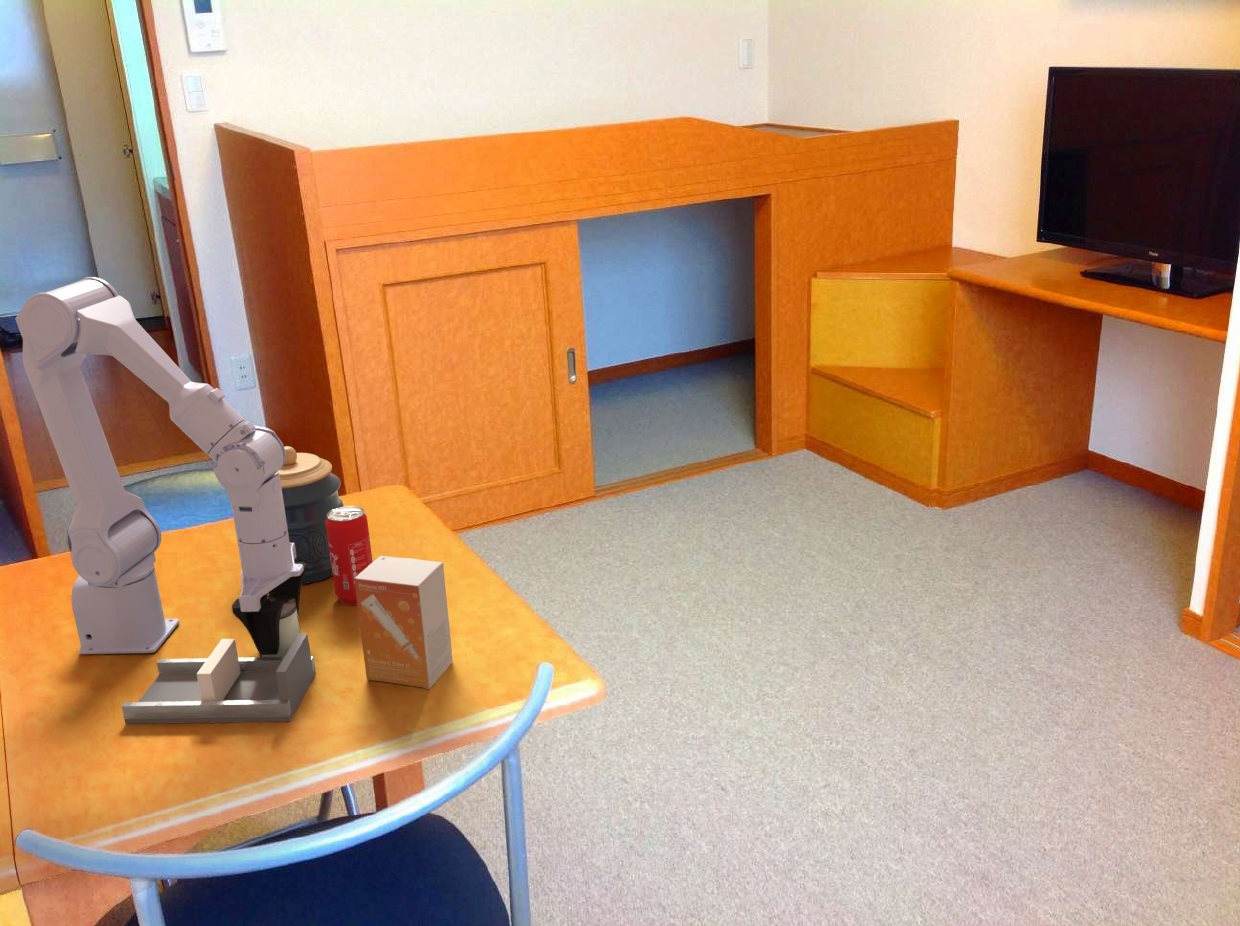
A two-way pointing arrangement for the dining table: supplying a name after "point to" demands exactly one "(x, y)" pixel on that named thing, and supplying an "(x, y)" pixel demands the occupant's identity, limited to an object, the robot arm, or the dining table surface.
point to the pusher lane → (254, 697)
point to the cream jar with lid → (286, 624)
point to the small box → (404, 621)
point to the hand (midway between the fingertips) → (279, 637)
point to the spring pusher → (219, 671)
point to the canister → (309, 509)
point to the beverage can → (348, 549)
